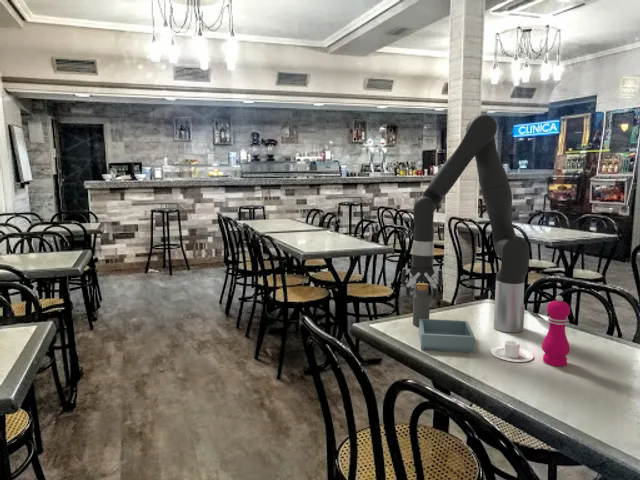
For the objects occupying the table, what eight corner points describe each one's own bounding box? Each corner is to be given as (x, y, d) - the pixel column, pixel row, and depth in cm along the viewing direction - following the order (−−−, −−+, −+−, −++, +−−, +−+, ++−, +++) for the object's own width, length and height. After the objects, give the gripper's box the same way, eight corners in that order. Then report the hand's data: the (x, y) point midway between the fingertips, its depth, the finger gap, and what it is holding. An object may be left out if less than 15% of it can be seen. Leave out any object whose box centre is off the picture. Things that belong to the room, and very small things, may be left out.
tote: (466, 335, 162) (467, 320, 161) (474, 352, 146) (474, 337, 145) (419, 332, 164) (419, 318, 163) (420, 349, 149) (421, 334, 148)
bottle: (428, 322, 175) (429, 282, 173) (430, 327, 170) (431, 286, 167) (411, 321, 176) (412, 282, 174) (413, 327, 170) (414, 286, 168)
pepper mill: (557, 369, 134) (562, 300, 131) (535, 360, 140) (539, 294, 137) (574, 364, 137) (579, 297, 134) (551, 355, 143) (556, 291, 140)
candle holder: (497, 345, 152) (497, 332, 152) (537, 354, 146) (538, 340, 145) (485, 358, 143) (486, 344, 142) (528, 367, 136) (529, 353, 135)
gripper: (402, 254, 166) (400, 299, 169) (444, 255, 164) (442, 301, 166) (402, 250, 174) (400, 293, 176) (442, 252, 171) (440, 295, 174)
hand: (420, 297), depth 171 cm, fingers open, 8 cm apart
